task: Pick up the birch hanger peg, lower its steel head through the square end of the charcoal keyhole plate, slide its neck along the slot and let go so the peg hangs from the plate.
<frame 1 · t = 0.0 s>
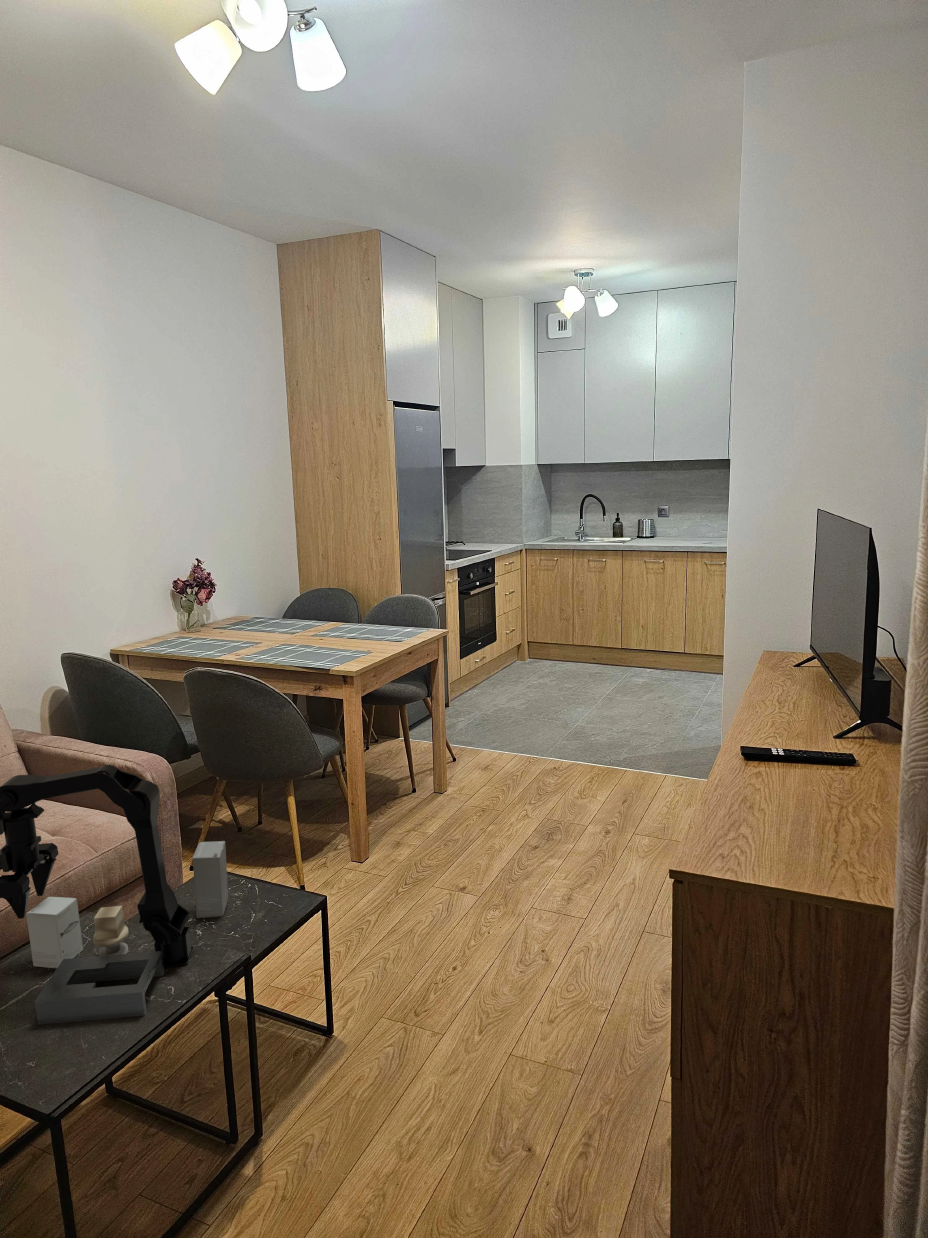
hand: (31, 906, 174), 15 cm above the table, fingers open, 9 cm apart
keyhole plate: (104, 997, 166), on the table
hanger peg: (113, 956, 181), on the table
supplement box: (59, 959, 181), on the table
skincare box: (214, 910, 199), on the table
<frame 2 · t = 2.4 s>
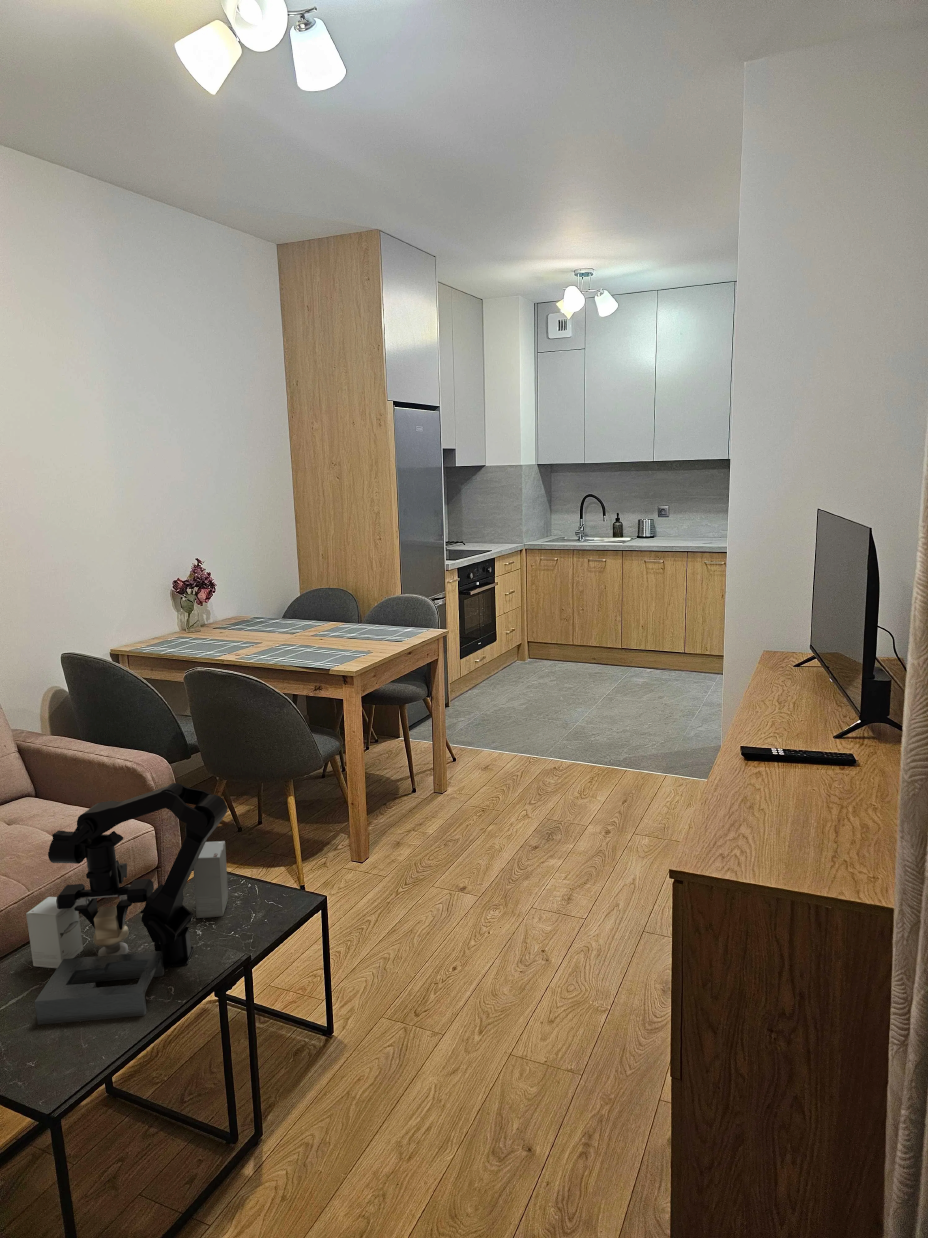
hand: (110, 929, 180), 6 cm above the table, fingers closed on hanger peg, 4 cm apart
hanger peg: (113, 956, 181), on the table, touching gripper
everything else where it was.
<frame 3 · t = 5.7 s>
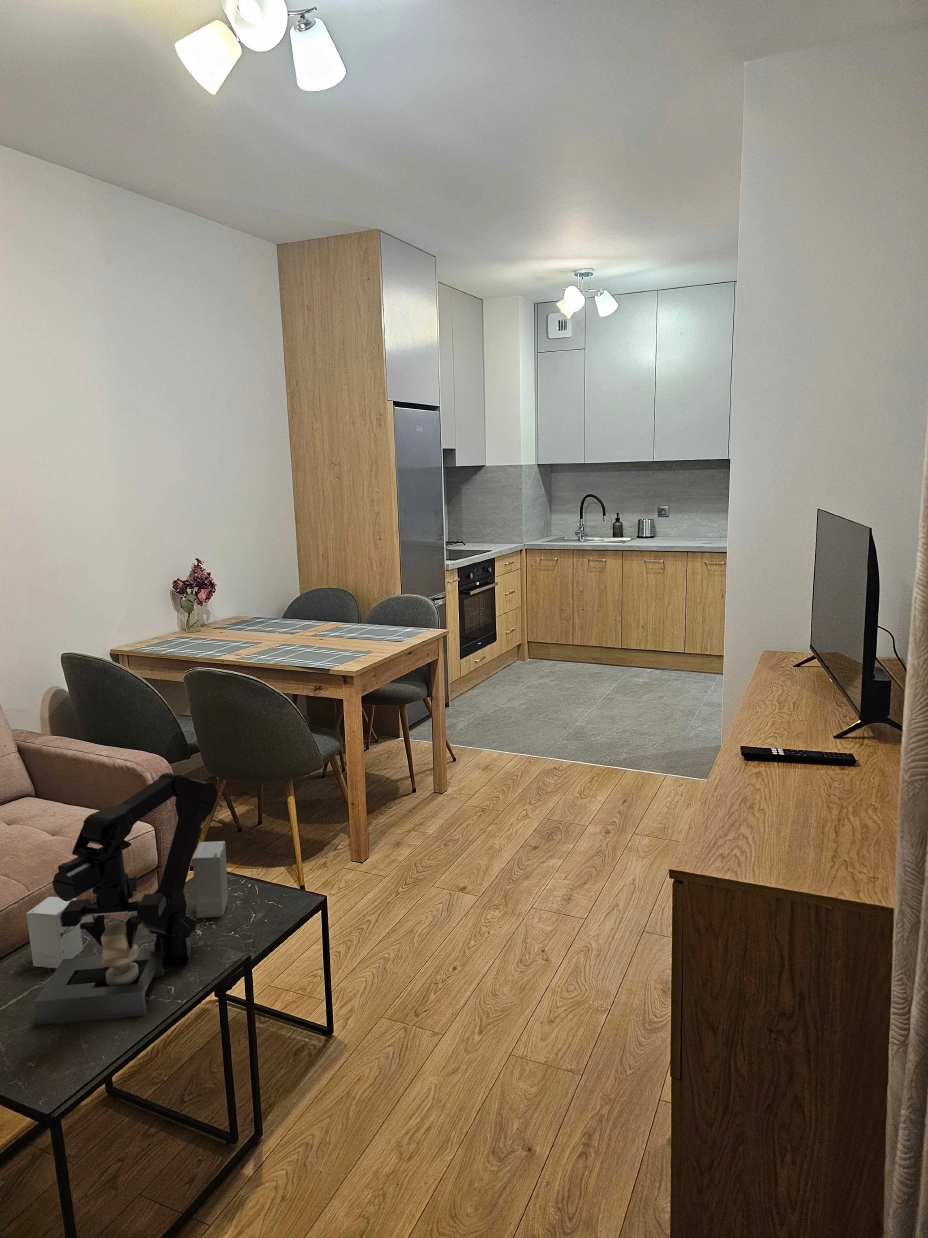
hand: (119, 948, 165), 10 cm above the table, fingers closed on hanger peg, 4 cm apart
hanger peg: (122, 977, 166), point 4 cm above the table, touching gripper
everything else where it was.
when the fingers open (8 cm above the table, at t = 9.1 s): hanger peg stays where it is, resting on keyhole plate.
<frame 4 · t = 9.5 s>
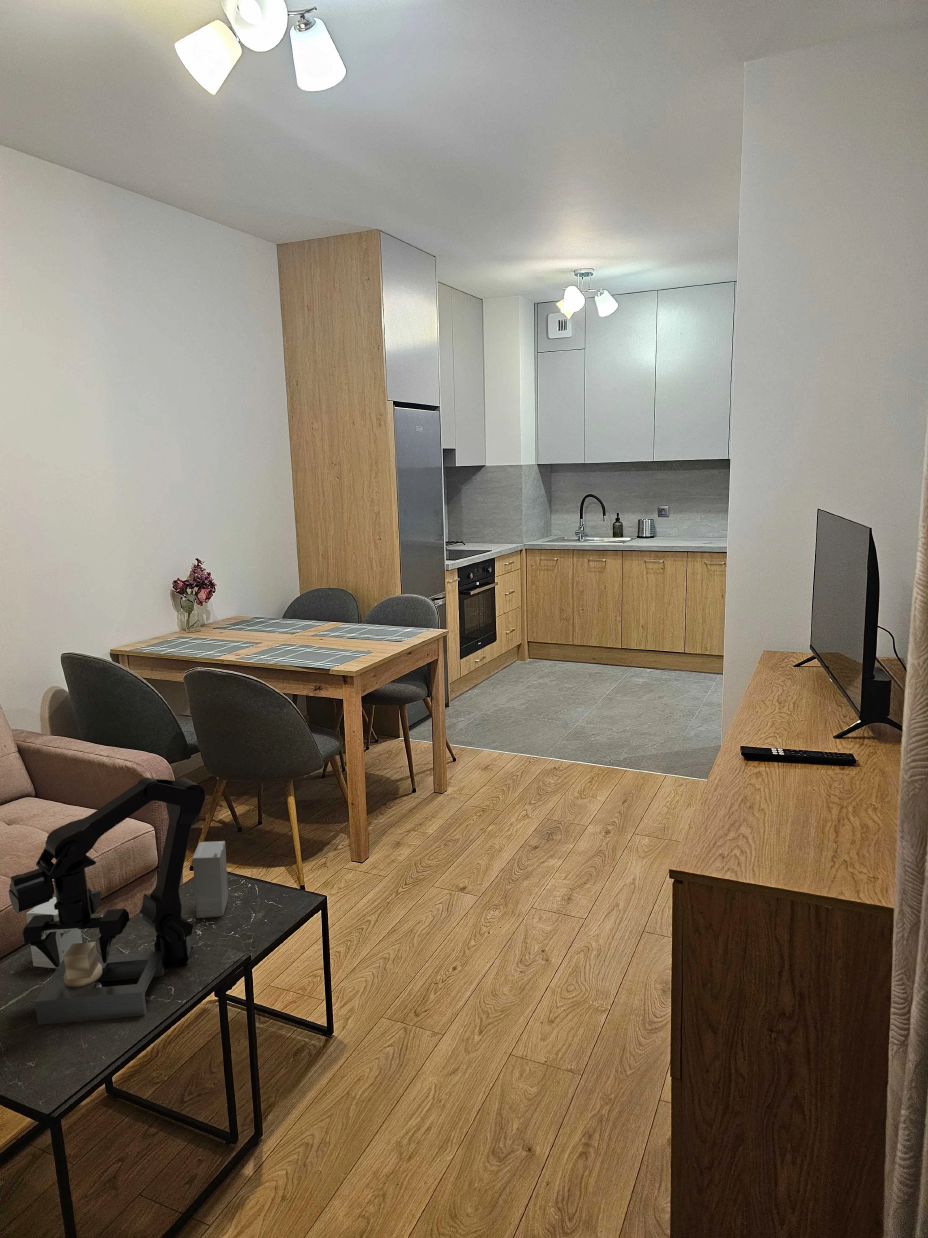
hand: (81, 964, 165), 8 cm above the table, fingers open, 9 cm apart
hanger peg: (86, 997, 166), resting on keyhole plate
everything else where it was.
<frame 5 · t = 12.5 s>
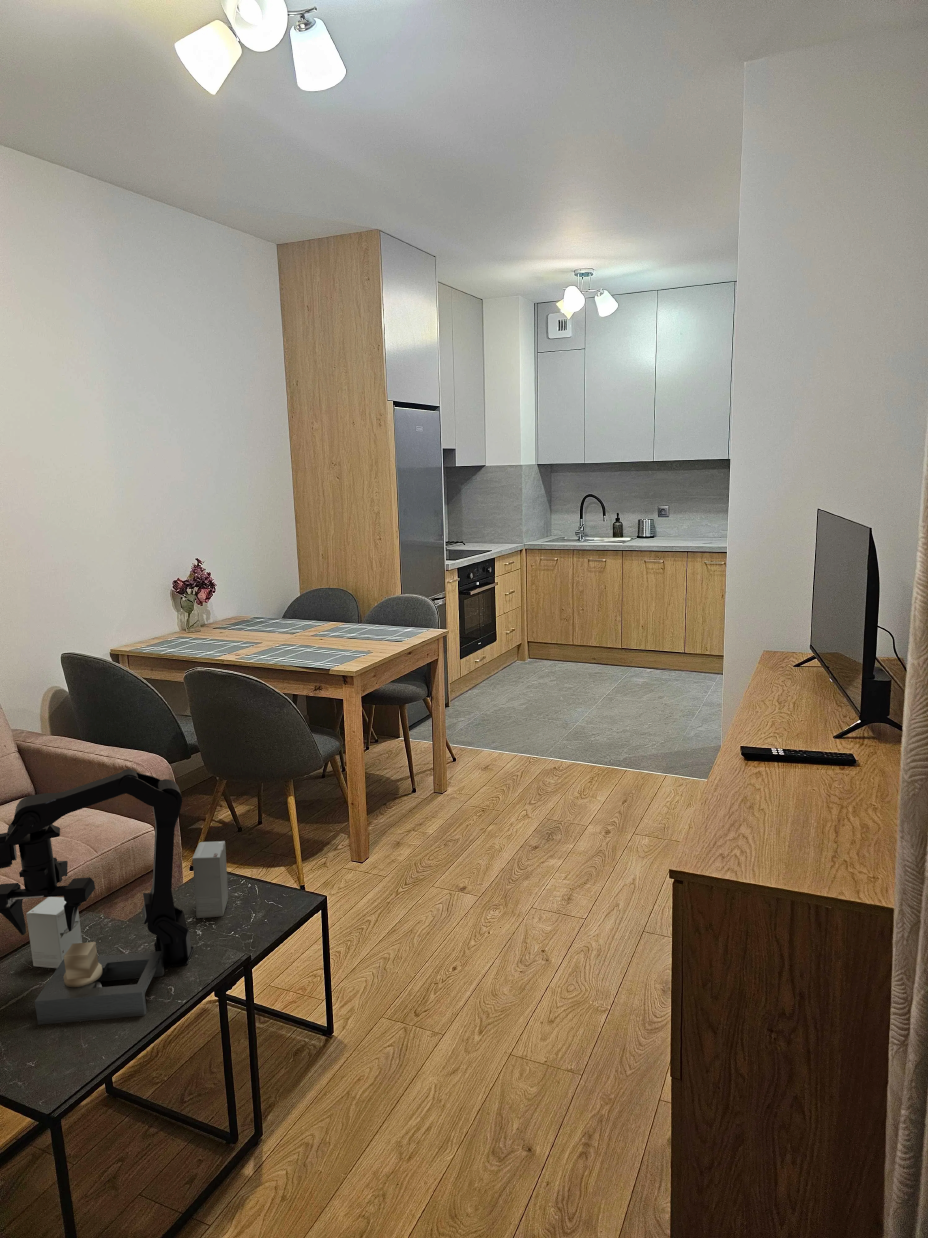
hand: (47, 932, 167), 13 cm above the table, fingers open, 9 cm apart
nothing on the table moved.
at the end: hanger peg 0.1 cm from the target spot on the keyhole plate, point 0.5 cm above the keyhole plate's base; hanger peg touching keyhole plate; the gripper is holding nothing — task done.
